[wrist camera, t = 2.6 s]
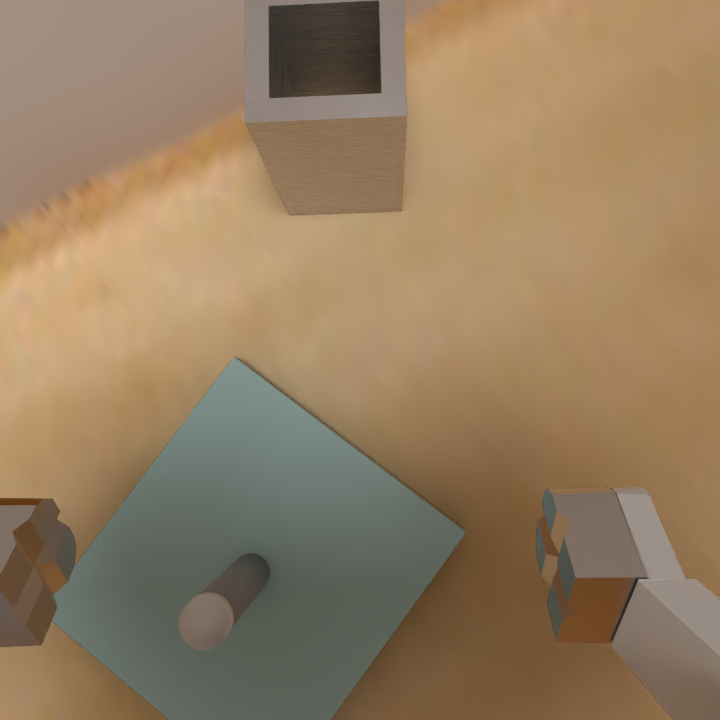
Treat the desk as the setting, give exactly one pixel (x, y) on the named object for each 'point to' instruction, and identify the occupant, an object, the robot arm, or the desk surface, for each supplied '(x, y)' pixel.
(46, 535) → the robot arm
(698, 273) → the desk surface
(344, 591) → the post base
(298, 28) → the grey hollow box
